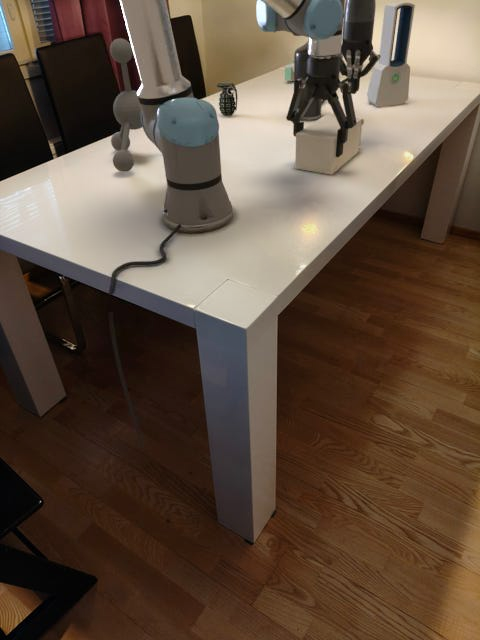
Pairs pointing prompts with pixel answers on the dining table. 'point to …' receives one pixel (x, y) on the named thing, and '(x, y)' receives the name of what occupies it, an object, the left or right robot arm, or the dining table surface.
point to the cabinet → (325, 146)
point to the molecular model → (124, 108)
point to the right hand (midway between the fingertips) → (352, 93)
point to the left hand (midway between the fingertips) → (318, 152)
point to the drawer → (361, 129)
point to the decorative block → (289, 72)
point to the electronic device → (391, 75)
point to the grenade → (227, 99)
